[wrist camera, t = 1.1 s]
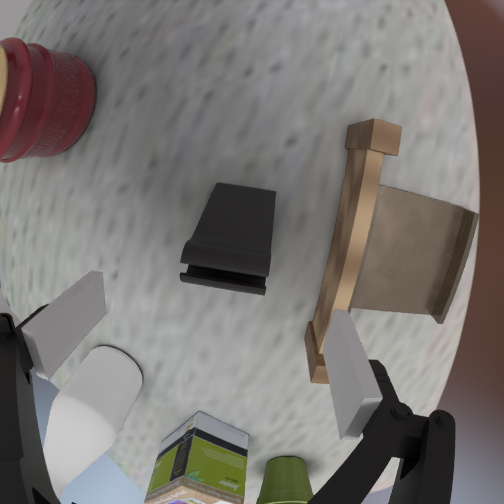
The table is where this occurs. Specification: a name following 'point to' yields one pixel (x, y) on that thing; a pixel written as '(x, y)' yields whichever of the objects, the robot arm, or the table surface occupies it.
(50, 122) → the canister
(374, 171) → the door pull handle
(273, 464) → the plant pot
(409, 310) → the keeper plate
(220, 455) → the tea box
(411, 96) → the table surface
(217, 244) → the phone stand
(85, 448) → the wine bottle
